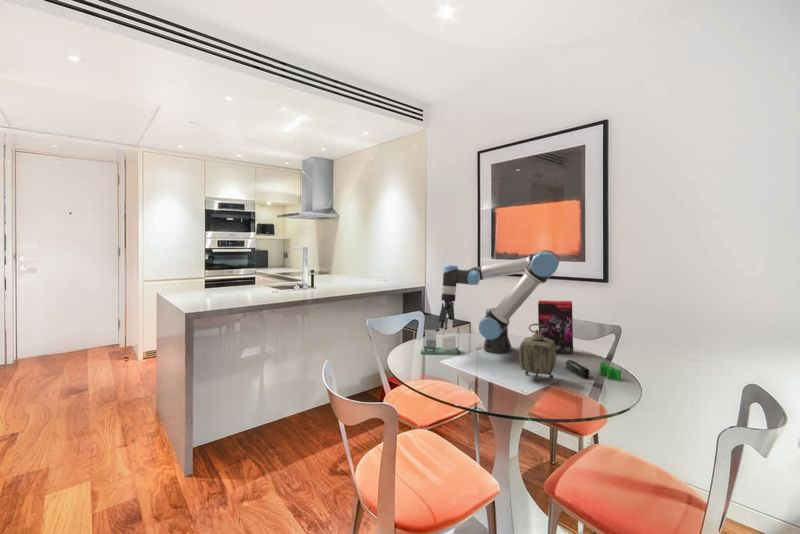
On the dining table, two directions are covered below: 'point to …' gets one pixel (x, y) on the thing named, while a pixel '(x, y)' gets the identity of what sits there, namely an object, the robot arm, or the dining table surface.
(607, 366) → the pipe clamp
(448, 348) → the heat-sink mount
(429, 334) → the plate
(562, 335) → the graphics card box
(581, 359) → the dining table surface
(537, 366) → the tabletop clock
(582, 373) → the mobile phone
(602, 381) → the dining table surface
